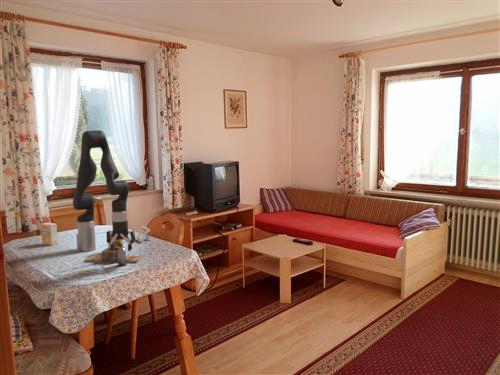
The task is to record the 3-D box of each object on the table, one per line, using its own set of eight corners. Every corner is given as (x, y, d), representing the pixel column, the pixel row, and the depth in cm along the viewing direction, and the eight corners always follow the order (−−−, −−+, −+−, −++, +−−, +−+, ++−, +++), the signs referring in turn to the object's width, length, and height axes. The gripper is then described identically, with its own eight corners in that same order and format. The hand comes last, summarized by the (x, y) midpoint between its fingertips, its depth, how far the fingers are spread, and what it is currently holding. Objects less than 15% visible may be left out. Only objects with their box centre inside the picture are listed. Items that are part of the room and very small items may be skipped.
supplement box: (41, 244, 241) (40, 223, 239) (48, 242, 245) (47, 222, 243) (51, 245, 238) (50, 225, 236) (58, 243, 242) (56, 223, 240)
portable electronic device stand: (134, 240, 249) (134, 227, 248) (146, 238, 254) (145, 226, 253) (141, 243, 243) (140, 230, 242) (152, 241, 248) (151, 228, 247)
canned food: (125, 251, 224) (124, 231, 223) (112, 254, 219) (111, 233, 217) (119, 249, 230) (118, 229, 228) (106, 251, 224) (105, 231, 223)
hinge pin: (116, 266, 199) (116, 249, 198) (120, 263, 203) (119, 247, 202) (124, 266, 198) (123, 249, 197) (127, 263, 202) (126, 247, 201)
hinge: (84, 262, 206) (83, 251, 205) (91, 257, 214) (91, 246, 213) (136, 262, 204) (136, 251, 203) (142, 258, 212) (141, 247, 211)
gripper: (103, 221, 194) (104, 252, 196) (130, 221, 193) (132, 253, 195) (109, 218, 202) (111, 248, 204) (136, 218, 201) (137, 248, 203)
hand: (121, 250), depth 199 cm, fingers open, 8 cm apart
